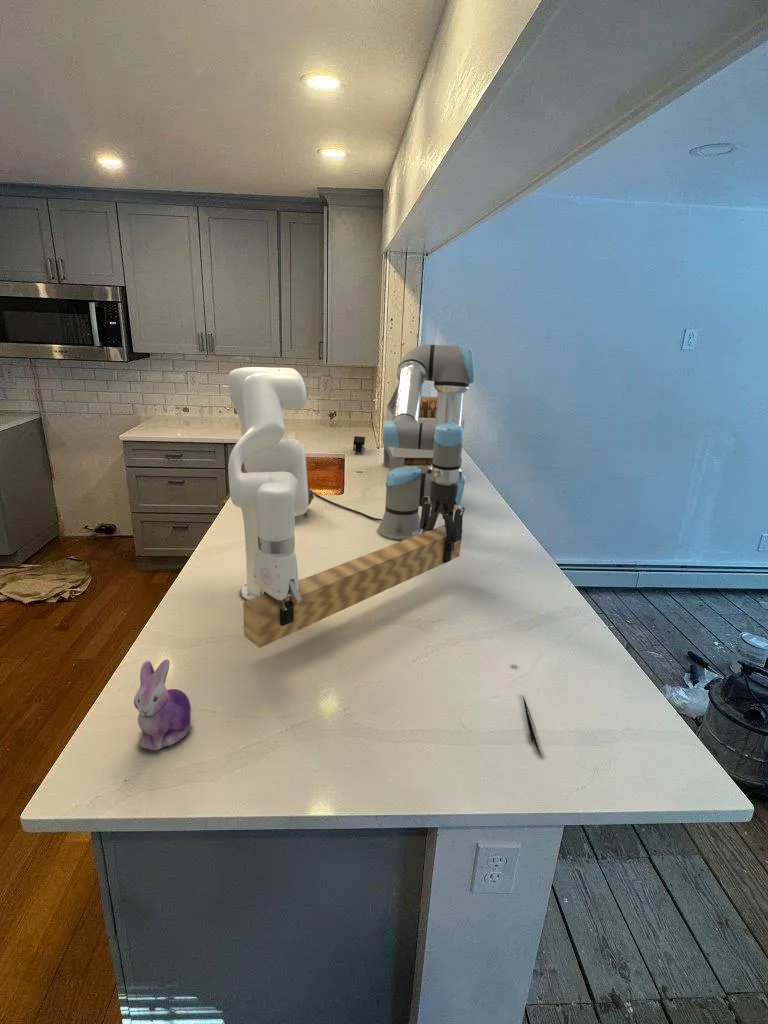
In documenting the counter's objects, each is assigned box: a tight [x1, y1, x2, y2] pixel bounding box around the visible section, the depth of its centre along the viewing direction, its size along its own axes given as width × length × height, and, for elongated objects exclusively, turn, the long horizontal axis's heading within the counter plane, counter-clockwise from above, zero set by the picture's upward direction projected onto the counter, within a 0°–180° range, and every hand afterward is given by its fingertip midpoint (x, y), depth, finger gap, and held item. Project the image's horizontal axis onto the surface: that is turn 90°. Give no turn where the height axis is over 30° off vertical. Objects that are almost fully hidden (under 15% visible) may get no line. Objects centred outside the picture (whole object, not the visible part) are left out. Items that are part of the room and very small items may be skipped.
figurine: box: [133, 658, 192, 751], centre depth 101 cm, size 9×10×15 cm
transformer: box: [383, 385, 465, 472], centre depth 268 cm, size 34×33×41 cm
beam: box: [242, 524, 462, 649], centre depth 143 cm, size 70×6×9 cm, turn 136°
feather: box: [513, 664, 541, 755], centre depth 114 cm, size 2×28×2 cm
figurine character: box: [352, 435, 366, 455], centre depth 308 cm, size 7×8×15 cm
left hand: (277, 616), depth 124 cm, fingers closed on beam, 5 cm apart
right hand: (438, 557), depth 163 cm, fingers closed on beam, 6 cm apart
